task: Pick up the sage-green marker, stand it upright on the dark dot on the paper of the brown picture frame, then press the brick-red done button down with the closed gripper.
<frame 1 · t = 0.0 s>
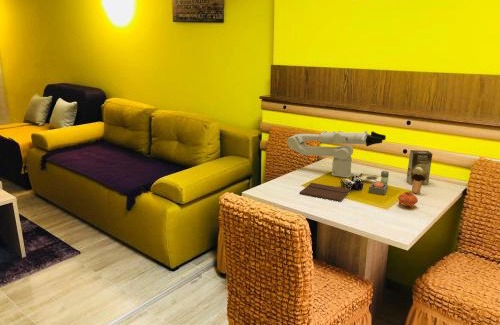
hand: (383, 139, 202), 22 cm above the table, tool horizontal, fingers open, 7 cm apart
notebook: (325, 194, 191), on the table
grandmother figurine: (416, 193, 190), on the table
done button: (378, 186, 191), point 3 cm above the table, slide at 0.0 cm
pot: (406, 206, 175), on the table
marker: (383, 187, 198), on the table
button housing: (378, 191, 192), on the table
brown picture frame: (371, 179, 209), on the table
coffee box: (417, 183, 205), on the table
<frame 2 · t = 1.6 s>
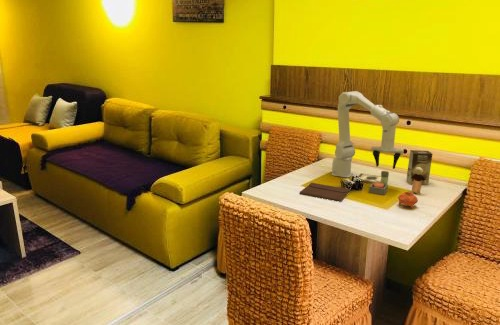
hand: (385, 167, 195), 10 cm above the table, tool pointing down, fingers open, 7 cm apart
nothing on the table moved.
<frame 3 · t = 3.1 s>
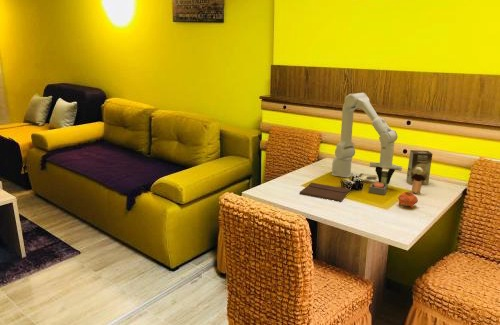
hand: (384, 183, 197), 2 cm above the table, tool pointing down, fingers closed on marker, 3 cm apart
marker: (383, 187, 198), on the table, touching gripper
everything else where it was.
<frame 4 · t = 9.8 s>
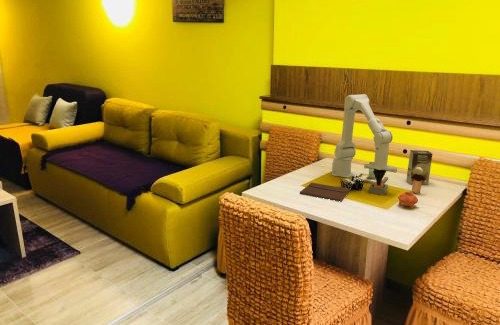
hand: (378, 184, 191), 3 cm above the table, tool pointing down, fingers closed, pressing on done button
done button: (378, 187, 192), point 2 cm above the table, slide at 0.6 cm, touching gripper
marker: (371, 177, 209), point 1 cm above the table, touching brown picture frame
everything else where it was.
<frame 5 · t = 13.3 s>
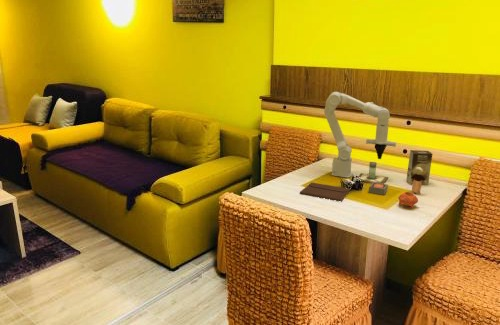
hand: (379, 158, 209), 10 cm above the table, tool pointing down, fingers closed
done button: (378, 188, 192), point 2 cm above the table, slide at 0.9 cm
everything else where it was.
at the end: marker 0.0 cm off-centre on the brown picture frame, point 1.1 cm above the brown picture frame's base; marker tilted 0°; done button slide at 0.9 cm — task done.
